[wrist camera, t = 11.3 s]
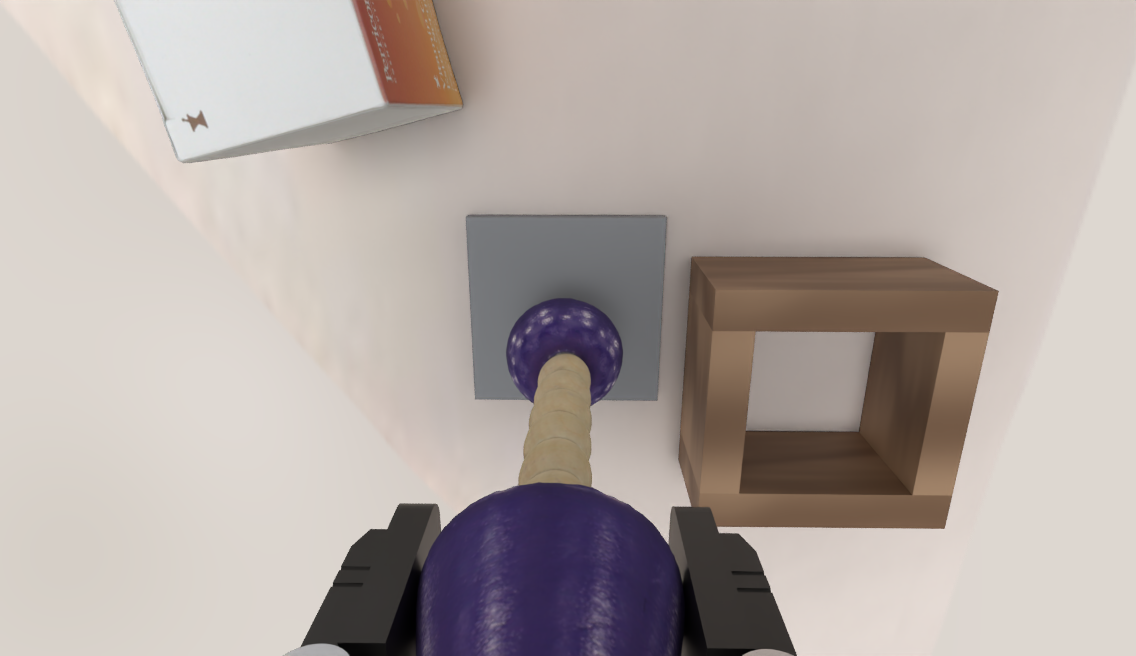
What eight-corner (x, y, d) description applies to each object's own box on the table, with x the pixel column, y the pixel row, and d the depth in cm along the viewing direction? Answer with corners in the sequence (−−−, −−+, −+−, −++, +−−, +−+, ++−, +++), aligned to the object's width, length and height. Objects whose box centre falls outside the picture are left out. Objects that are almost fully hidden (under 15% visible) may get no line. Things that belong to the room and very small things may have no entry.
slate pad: (468, 214, 27) (465, 217, 26) (664, 215, 26) (666, 218, 26) (477, 393, 29) (474, 399, 29) (655, 394, 29) (657, 400, 29)
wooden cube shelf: (691, 256, 27) (715, 290, 22) (924, 257, 27) (998, 290, 22) (678, 459, 30) (697, 526, 25) (886, 461, 30) (944, 528, 25)
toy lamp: (475, 319, 23) (266, 774, 8) (589, 256, 23) (616, 620, 7) (544, 423, 25) (486, 992, 9) (653, 367, 24) (799, 886, 8)
